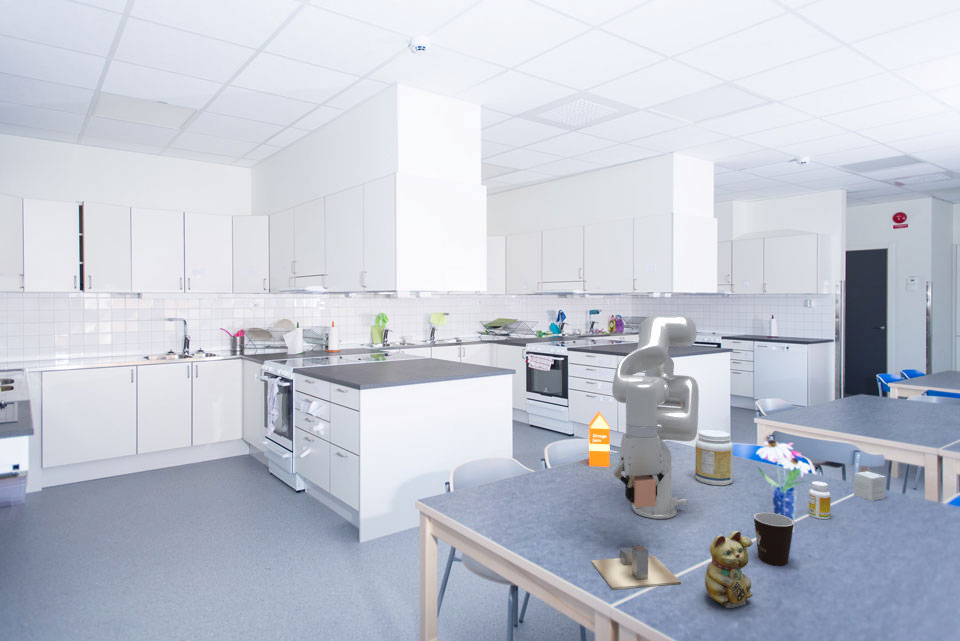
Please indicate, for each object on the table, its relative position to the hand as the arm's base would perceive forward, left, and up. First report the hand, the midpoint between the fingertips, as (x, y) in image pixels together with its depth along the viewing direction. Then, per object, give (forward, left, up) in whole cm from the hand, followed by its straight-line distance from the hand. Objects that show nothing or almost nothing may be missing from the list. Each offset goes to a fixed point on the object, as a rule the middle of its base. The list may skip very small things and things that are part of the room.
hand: (641, 499), depth 143 cm
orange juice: (-16, -73, -13) cm, 76 cm away
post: (+8, +16, -12) cm, 21 cm away
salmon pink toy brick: (0, 0, -1) cm, 1 cm away
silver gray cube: (+8, +9, -12) cm, 17 cm away
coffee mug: (-29, +11, -13) cm, 34 cm away
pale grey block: (-88, -23, -13) cm, 92 cm away
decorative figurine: (-6, +27, -13) cm, 30 cm away
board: (+8, +13, -12) cm, 19 cm away
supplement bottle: (-60, -11, -13) cm, 63 cm away
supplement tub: (-48, -46, -13) cm, 68 cm away
